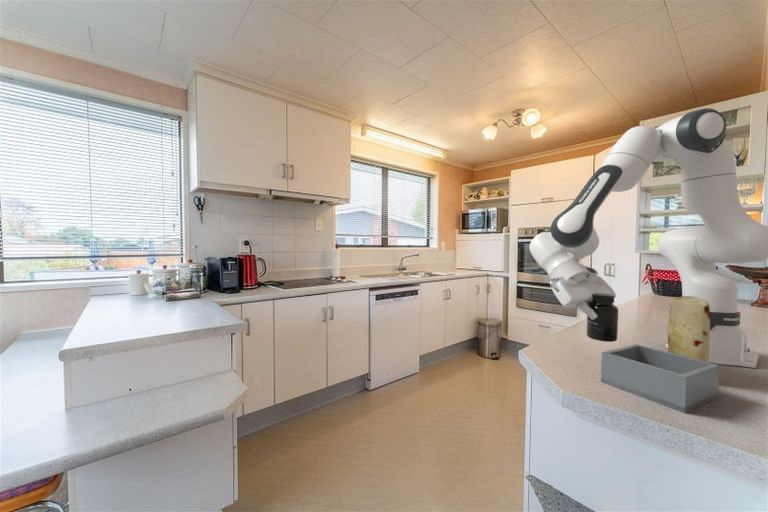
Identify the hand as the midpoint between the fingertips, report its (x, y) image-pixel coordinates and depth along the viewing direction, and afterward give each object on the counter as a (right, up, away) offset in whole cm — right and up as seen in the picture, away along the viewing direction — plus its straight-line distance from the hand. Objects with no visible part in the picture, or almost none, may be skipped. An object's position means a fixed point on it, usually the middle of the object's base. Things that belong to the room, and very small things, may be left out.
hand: (605, 316), depth 80 cm
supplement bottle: (0, -6, +1) cm, 6 cm away
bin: (+2, -14, -12) cm, 19 cm away
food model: (+17, -14, -5) cm, 22 cm away
